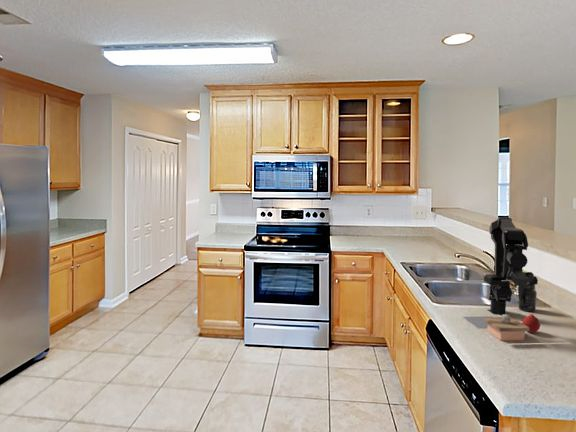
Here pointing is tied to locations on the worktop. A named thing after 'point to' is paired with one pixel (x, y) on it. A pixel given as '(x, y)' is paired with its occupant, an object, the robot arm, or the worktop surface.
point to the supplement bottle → (528, 300)
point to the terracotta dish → (506, 334)
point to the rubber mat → (478, 321)
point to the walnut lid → (506, 323)
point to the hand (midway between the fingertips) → (508, 300)
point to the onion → (531, 323)
